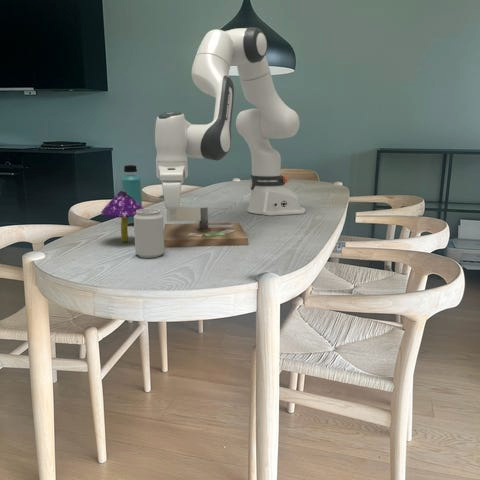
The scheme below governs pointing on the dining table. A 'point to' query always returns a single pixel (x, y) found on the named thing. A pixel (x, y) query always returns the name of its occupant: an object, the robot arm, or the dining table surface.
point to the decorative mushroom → (122, 210)
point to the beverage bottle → (132, 186)
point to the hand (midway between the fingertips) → (173, 219)
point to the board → (203, 235)
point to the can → (149, 233)
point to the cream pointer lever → (195, 216)
